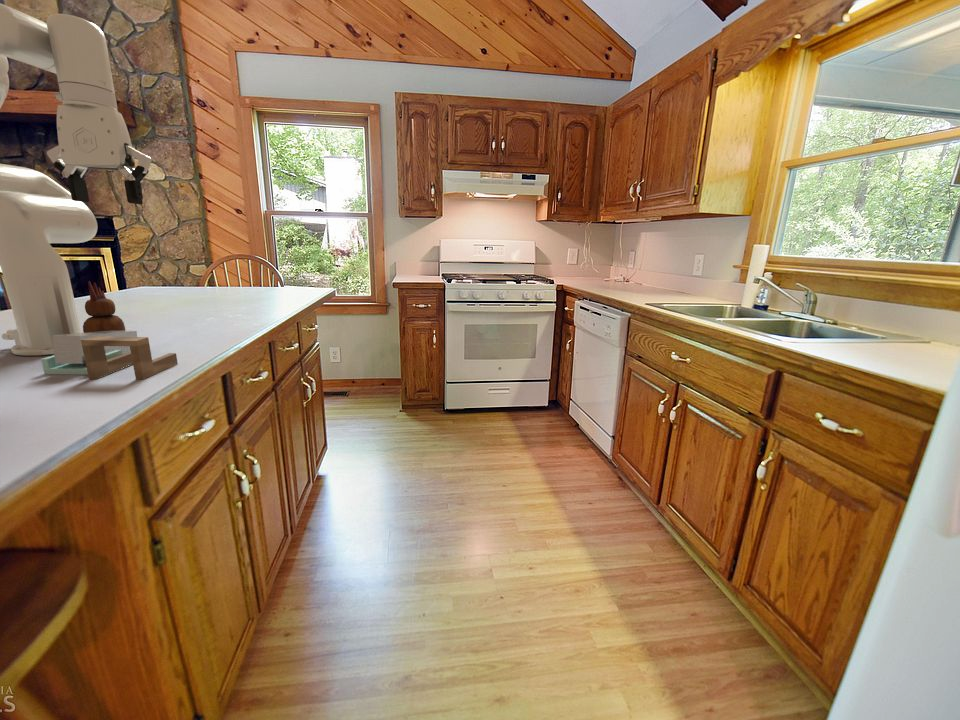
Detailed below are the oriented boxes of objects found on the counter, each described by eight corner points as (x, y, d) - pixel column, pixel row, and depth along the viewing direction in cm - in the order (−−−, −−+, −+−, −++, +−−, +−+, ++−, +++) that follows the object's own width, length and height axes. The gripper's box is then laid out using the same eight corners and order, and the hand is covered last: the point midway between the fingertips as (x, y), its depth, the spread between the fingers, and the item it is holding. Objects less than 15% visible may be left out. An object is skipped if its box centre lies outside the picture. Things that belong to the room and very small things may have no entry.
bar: (55, 363, 76) (52, 335, 75) (115, 354, 90) (113, 330, 89) (82, 363, 76) (80, 335, 76) (138, 354, 90) (136, 330, 90)
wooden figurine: (103, 354, 89) (88, 282, 85) (81, 352, 90) (65, 281, 86) (135, 347, 96) (122, 280, 92) (113, 345, 97) (100, 278, 93)
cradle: (44, 373, 76) (40, 358, 75) (77, 363, 83) (74, 349, 82) (96, 374, 77) (92, 359, 76) (124, 363, 84) (121, 350, 83)
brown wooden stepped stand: (88, 378, 75) (80, 339, 73) (129, 363, 84) (123, 328, 82) (143, 379, 75) (136, 340, 73) (177, 363, 85) (172, 329, 83)
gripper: (17, 91, 72) (41, 198, 76) (126, 97, 73) (143, 203, 78) (56, 104, 79) (76, 202, 84) (154, 110, 81) (168, 206, 85)
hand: (108, 202), depth 81 cm, fingers open, 9 cm apart
